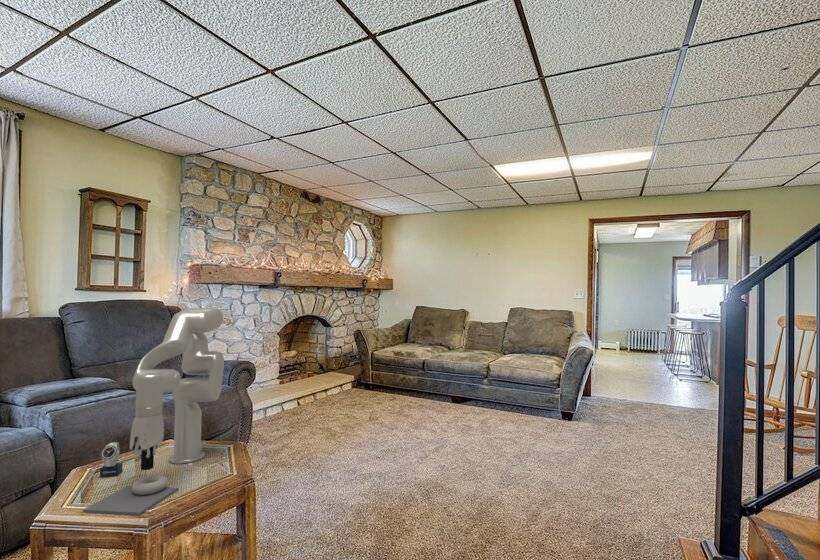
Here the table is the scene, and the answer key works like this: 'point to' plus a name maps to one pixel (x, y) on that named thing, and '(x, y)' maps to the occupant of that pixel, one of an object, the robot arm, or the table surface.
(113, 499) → the mat
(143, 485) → the donut
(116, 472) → the watch
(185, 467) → the table surface
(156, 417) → the robot arm
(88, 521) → the table surface
